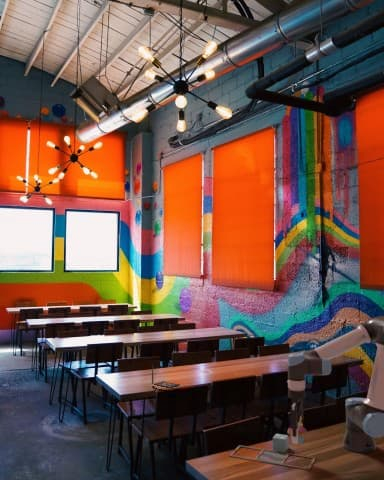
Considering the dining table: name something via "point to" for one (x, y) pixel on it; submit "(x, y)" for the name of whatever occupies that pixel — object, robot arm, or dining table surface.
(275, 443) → the grey cube
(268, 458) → the board
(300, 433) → the cupcake
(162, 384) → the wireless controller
